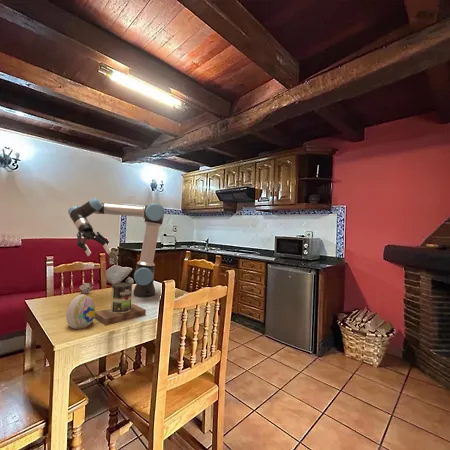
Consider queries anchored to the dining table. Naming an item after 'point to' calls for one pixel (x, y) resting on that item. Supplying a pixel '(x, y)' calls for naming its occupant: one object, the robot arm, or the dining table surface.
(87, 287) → the game die
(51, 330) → the dining table surface
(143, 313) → the walnut board
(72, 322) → the decorative egg
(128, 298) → the coffee can
